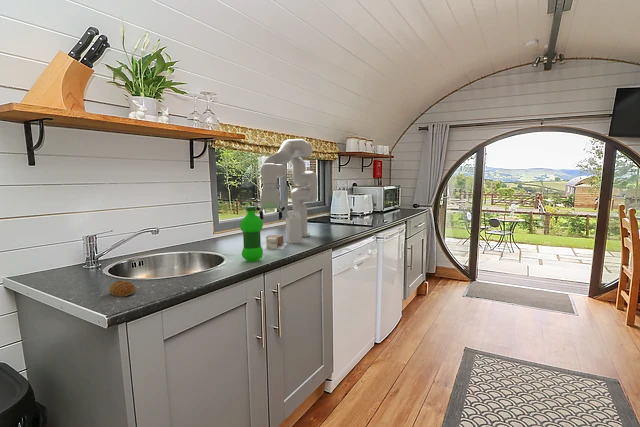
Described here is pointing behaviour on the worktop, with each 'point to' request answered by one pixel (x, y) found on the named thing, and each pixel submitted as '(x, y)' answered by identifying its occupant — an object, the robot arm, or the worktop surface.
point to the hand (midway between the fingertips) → (271, 219)
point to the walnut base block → (280, 237)
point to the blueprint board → (275, 248)
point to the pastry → (122, 288)
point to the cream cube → (272, 242)
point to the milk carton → (293, 227)
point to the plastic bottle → (251, 235)
